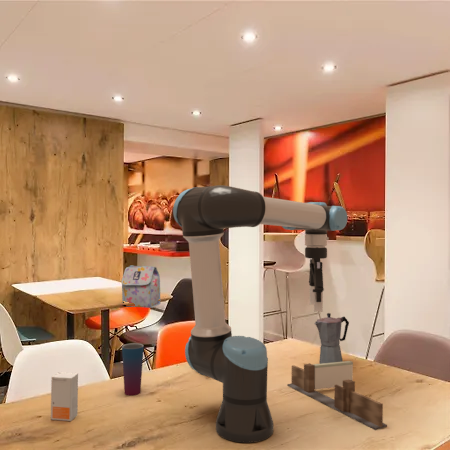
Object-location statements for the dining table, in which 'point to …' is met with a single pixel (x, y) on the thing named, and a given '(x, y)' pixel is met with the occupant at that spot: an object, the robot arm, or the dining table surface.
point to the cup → (132, 368)
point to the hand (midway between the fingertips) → (315, 307)
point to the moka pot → (330, 338)
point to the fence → (340, 398)
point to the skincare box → (64, 396)
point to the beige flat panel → (332, 374)
